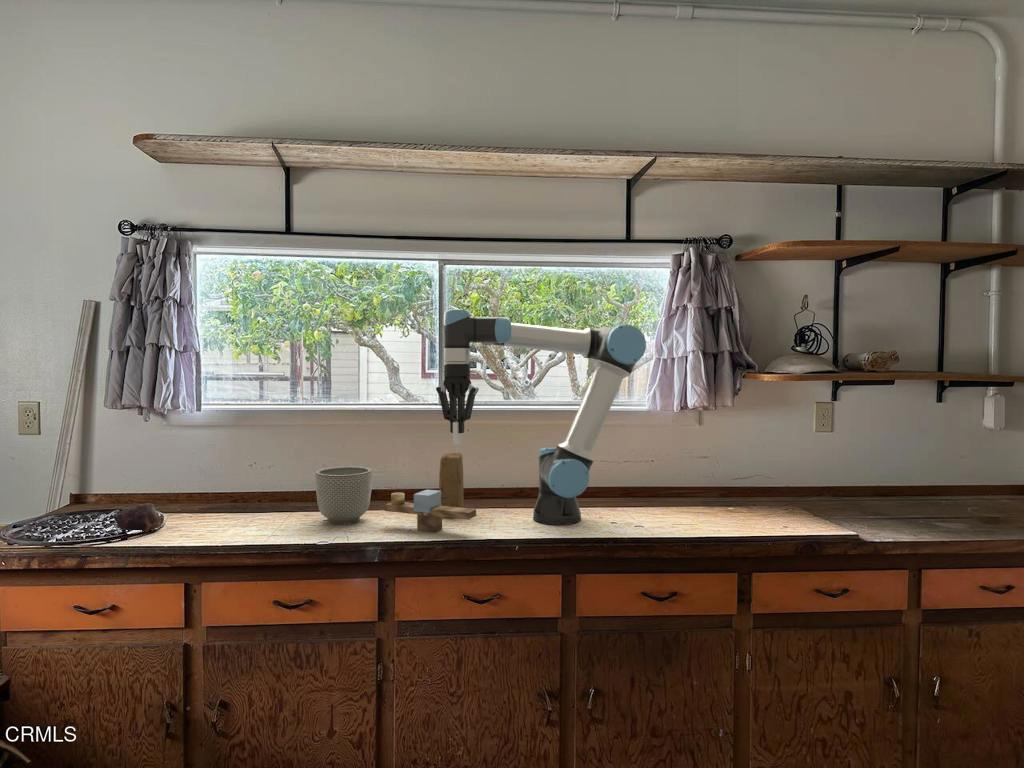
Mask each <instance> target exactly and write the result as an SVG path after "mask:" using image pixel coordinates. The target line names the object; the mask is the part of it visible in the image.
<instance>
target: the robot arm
mask: <svg viewBox="0 0 1024 768" xmlns="http://www.w3.org/2000/svg"><path fill="white" fill-rule="evenodd" d="M471 343H472V344H479V343H480V344H482V345H484V346H501V347H510V348H519V349H520V348H521V349H529V350H538V351H548V352H556V353H557V352H558V353H566V354H573V355H574V354H576V355H581V356H582V357H583V359H590V360H593V362H594V364H595V370H594V372H593V374H592V377H591V379H590V380H589V381H590V382H589V384H588V386H587V389H586V390H585V393H584V396H583V398H582V400H581V402H580V405H579V407H578V409H577V411H576V414H575V416H574V418H573V421H572V423H571V426H570V428H569V429H568V430H569V431H568V433H567V435H566V438H565V439H564V441H562V442H560V443H557V445H556V447H542V448H540V449H539V452H538V497H537V498H536V499H537V500H536V503H535V506H534V509H533V518H532V519H533V520H534V521H535V522H537V523H541V524H544V525H545V524H547V525H552V526H553V525H554V526H555V525H559V526H560V525H572V524H577V523H579V522H581V521H582V520H581V518H582V511H581V509H580V506H579V503H578V499H577V497H578V496H580V495H582V494H583V492H584V491H586V489H587V487H588V486H589V483H590V470H591V468H592V466H593V463H594V461H595V459H594V455H593V453H592V452H593V450H594V447H595V446H596V443H597V441H598V438H599V435H600V434H601V431H602V429H603V427H604V424H605V422H606V419H607V417H608V415H609V414H610V413H609V412H610V410H611V408H612V406H613V403H614V402H615V398H616V396H617V394H618V391H619V389H620V387H621V384H622V382H623V380H624V379H625V378H627V377H630V376H631V374H632V373H633V369H634V367H635V365H636V363H638V362H639V361H640V360H641V359H642V358H643V357H644V356H645V355H644V354H645V353H646V349H647V341H646V338H645V335H644V334H643V332H642V331H641V330H640V329H639V328H638V327H637V326H635V325H632V324H627V323H620V324H619V323H618V324H616V325H614V326H607V327H602V328H593V327H592V328H591V327H586V328H585V329H584V330H581V329H572V328H571V329H570V328H564V327H555V326H554V327H553V326H545V325H534V324H526V323H525V324H524V323H518V322H517V323H515V322H511V319H510V318H509V317H503V316H481V317H480V316H479V317H478V316H477V317H476V316H471V312H470V310H468V309H456V308H455V309H447V310H446V311H445V312H444V315H443V361H444V362H445V364H444V365H443V376H444V379H443V383H442V384H441V385H439V386H437V387H436V388H435V390H436V392H437V394H438V396H439V401H440V405H441V411H442V414H443V415H442V416H443V419H444V420H447V421H449V422H450V423H449V424H450V427H449V428H450V429H449V430H450V431H449V432H450V434H452V445H453V446H458V445H462V443H463V441H462V440H463V439H462V438H463V437H462V436H463V435H462V434H464V433H465V423H466V421H468V420H469V421H470V419H471V417H472V412H473V408H474V404H475V400H476V395H477V394H478V391H479V387H475V386H474V385H473V384H472V381H471V379H470V378H471V365H470V364H469V363H471V362H470V361H471ZM467 391H468V395H467V396H466V393H467ZM447 393H448V394H447ZM466 397H467V398H466ZM448 399H449V400H448Z"/></svg>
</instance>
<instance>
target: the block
mask: <svg viewBox="0 0 1024 768" xmlns="http://www.w3.org/2000/svg"><path fill="white" fill-rule="evenodd" d="M438 473H439V476H438V477H439V478H438V483H439V484H438V491H441V506H449V507H460V508H464V490H465V489H464V463H463V455H462V453H460V452H454V453H453V452H451V453H447V452H446V453H444V454H443V455H442V456H441V458H440V463H439V472H438Z"/></svg>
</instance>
